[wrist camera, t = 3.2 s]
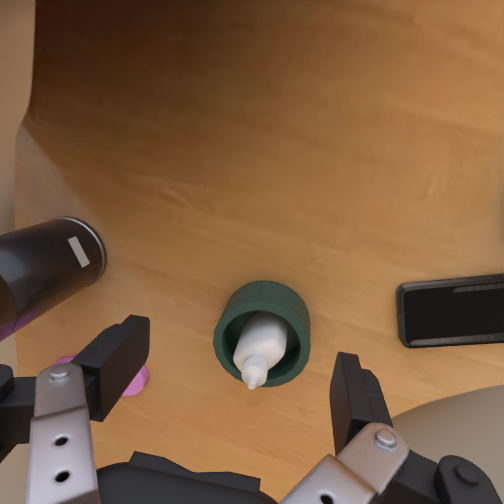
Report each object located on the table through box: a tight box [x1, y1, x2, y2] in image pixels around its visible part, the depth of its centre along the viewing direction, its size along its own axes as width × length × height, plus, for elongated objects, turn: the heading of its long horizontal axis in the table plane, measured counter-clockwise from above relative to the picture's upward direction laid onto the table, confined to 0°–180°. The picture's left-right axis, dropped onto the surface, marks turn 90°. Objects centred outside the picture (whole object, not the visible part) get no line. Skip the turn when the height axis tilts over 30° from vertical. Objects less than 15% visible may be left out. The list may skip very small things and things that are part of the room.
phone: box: [396, 274, 504, 348], centre depth 38 cm, size 8×1×15 cm
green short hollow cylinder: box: [213, 281, 310, 387], centre depth 40 cm, size 11×11×6 cm
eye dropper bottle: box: [233, 311, 288, 390], centre depth 36 cm, size 4×6×12 cm
